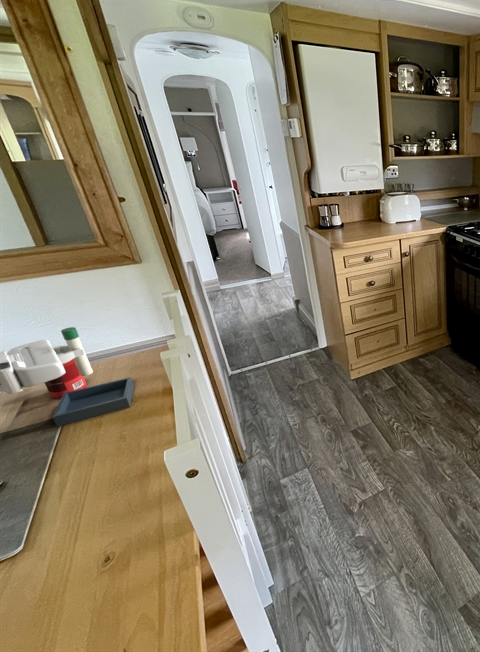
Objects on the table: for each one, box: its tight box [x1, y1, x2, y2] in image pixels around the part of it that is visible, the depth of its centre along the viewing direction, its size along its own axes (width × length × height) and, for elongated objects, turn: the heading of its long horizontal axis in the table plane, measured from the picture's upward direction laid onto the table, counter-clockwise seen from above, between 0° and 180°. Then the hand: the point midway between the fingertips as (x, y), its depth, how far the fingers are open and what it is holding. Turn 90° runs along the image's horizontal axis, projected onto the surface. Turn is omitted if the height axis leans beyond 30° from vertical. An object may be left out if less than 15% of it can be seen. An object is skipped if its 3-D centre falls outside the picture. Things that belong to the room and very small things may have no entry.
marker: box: [60, 326, 94, 377], centre depth 100 cm, size 3×3×14 cm
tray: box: [52, 376, 135, 427], centre depth 106 cm, size 15×13×3 cm
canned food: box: [43, 353, 87, 399], centre depth 110 cm, size 8×8×11 cm
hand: (81, 348), depth 101 cm, fingers closed on marker, 2 cm apart
